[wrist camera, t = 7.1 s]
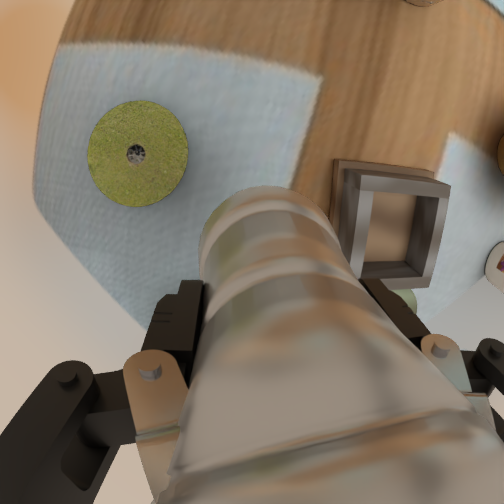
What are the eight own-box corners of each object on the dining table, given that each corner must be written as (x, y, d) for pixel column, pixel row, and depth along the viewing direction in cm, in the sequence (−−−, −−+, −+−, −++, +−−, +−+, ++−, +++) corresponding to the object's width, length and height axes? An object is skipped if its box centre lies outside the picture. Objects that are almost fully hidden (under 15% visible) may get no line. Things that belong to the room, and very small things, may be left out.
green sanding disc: (95, 202, 32) (88, 206, 30) (95, 105, 27) (87, 105, 25) (188, 203, 33) (186, 208, 31) (193, 100, 28) (191, 99, 26)
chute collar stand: (334, 159, 32) (355, 166, 26) (427, 170, 33) (456, 179, 27) (312, 336, 41) (323, 365, 36) (392, 329, 42) (409, 354, 36)
